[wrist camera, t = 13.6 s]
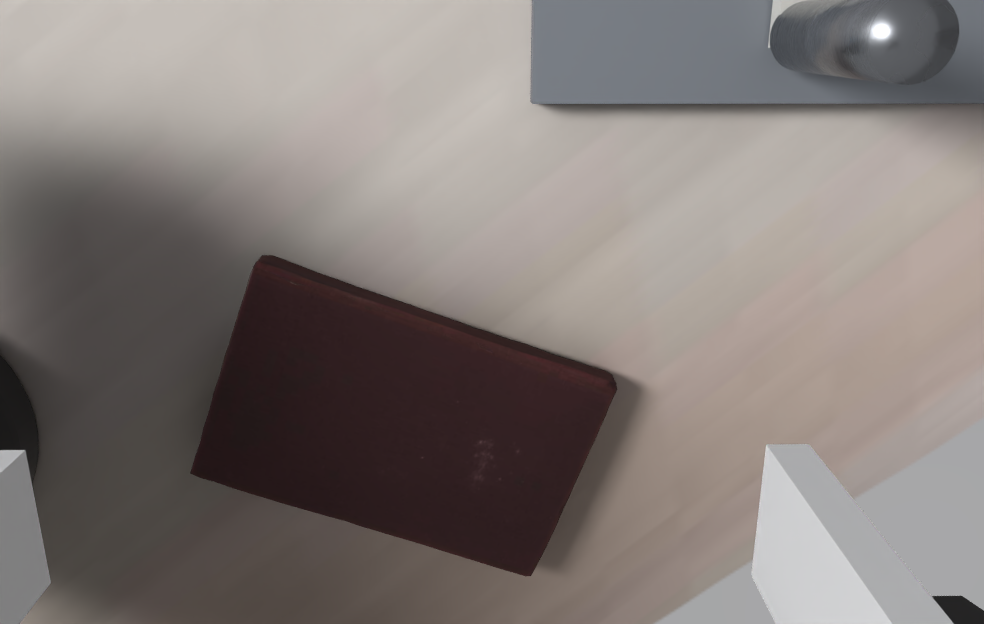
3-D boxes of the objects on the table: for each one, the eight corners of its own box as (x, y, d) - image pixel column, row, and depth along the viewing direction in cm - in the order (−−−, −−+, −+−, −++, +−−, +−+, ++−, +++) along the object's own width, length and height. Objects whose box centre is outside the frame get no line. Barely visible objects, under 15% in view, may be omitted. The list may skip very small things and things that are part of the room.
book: (267, 245, 43) (251, 262, 40) (612, 366, 46) (622, 390, 43) (206, 450, 47) (186, 480, 44) (528, 552, 50) (531, 587, 46)
